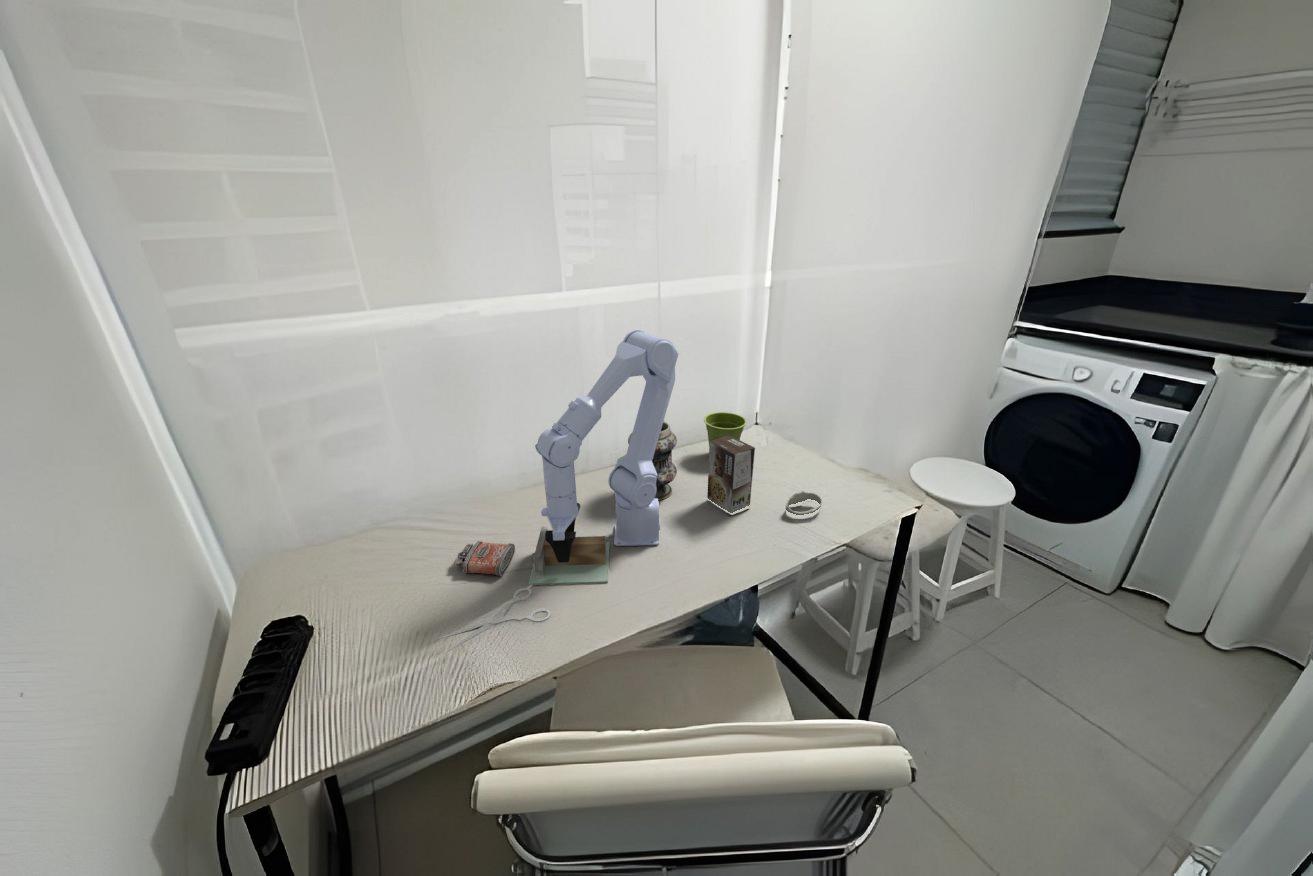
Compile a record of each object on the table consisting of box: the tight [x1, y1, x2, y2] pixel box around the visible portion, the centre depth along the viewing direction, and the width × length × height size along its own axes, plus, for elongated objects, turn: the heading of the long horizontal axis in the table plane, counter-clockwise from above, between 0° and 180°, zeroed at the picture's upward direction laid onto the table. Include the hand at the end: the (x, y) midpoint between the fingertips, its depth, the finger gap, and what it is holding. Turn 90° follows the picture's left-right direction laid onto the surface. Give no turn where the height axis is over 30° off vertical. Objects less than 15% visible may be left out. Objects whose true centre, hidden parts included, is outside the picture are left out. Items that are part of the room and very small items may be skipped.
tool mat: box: [528, 540, 611, 586], centre depth 108 cm, size 15×13×1 cm
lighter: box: [454, 540, 516, 577], centre depth 106 cm, size 8×3×10 cm
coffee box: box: [706, 435, 756, 513], centre depth 125 cm, size 9×6×16 cm
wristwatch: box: [785, 490, 823, 515], centre depth 124 cm, size 9×6×5 cm
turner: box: [533, 526, 606, 578], centre depth 107 cm, size 13×10×5 cm
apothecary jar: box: [627, 420, 678, 501], centre depth 130 cm, size 12×12×18 cm
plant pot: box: [703, 411, 748, 443], centre depth 150 cm, size 12×12×11 cm
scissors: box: [436, 584, 552, 654], centre depth 93 cm, size 11×1×20 cm
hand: (565, 549), depth 106 cm, fingers open, 7 cm apart
